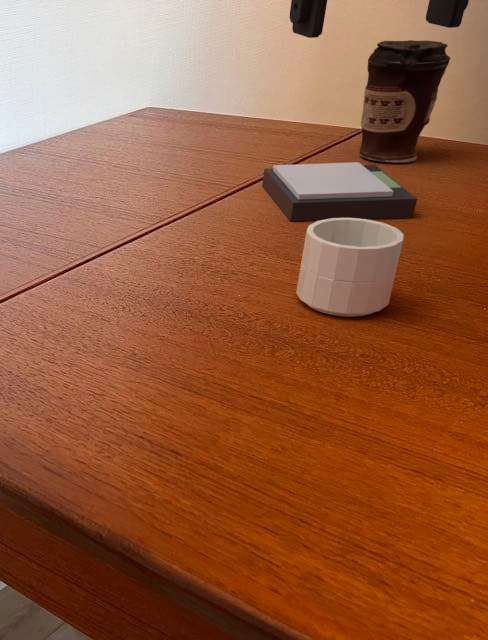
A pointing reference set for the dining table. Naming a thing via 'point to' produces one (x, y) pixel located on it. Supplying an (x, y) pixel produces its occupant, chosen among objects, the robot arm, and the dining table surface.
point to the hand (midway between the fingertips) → (374, 29)
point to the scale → (337, 192)
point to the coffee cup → (400, 97)
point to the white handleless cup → (349, 266)
